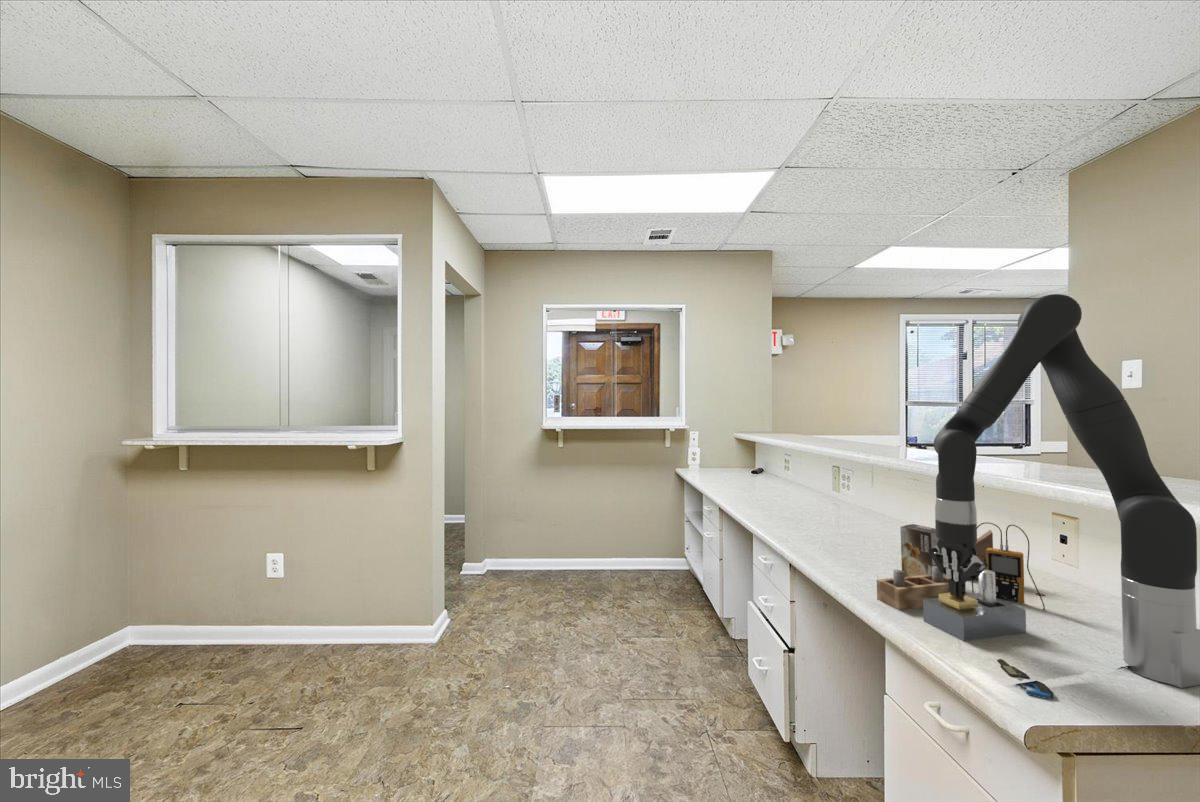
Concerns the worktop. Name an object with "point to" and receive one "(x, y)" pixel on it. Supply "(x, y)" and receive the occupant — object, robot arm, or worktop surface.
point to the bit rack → (911, 589)
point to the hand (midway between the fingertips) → (957, 596)
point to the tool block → (975, 619)
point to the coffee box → (917, 549)
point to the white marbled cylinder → (987, 588)
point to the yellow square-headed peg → (958, 602)
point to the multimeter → (1007, 571)
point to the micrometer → (1040, 687)
